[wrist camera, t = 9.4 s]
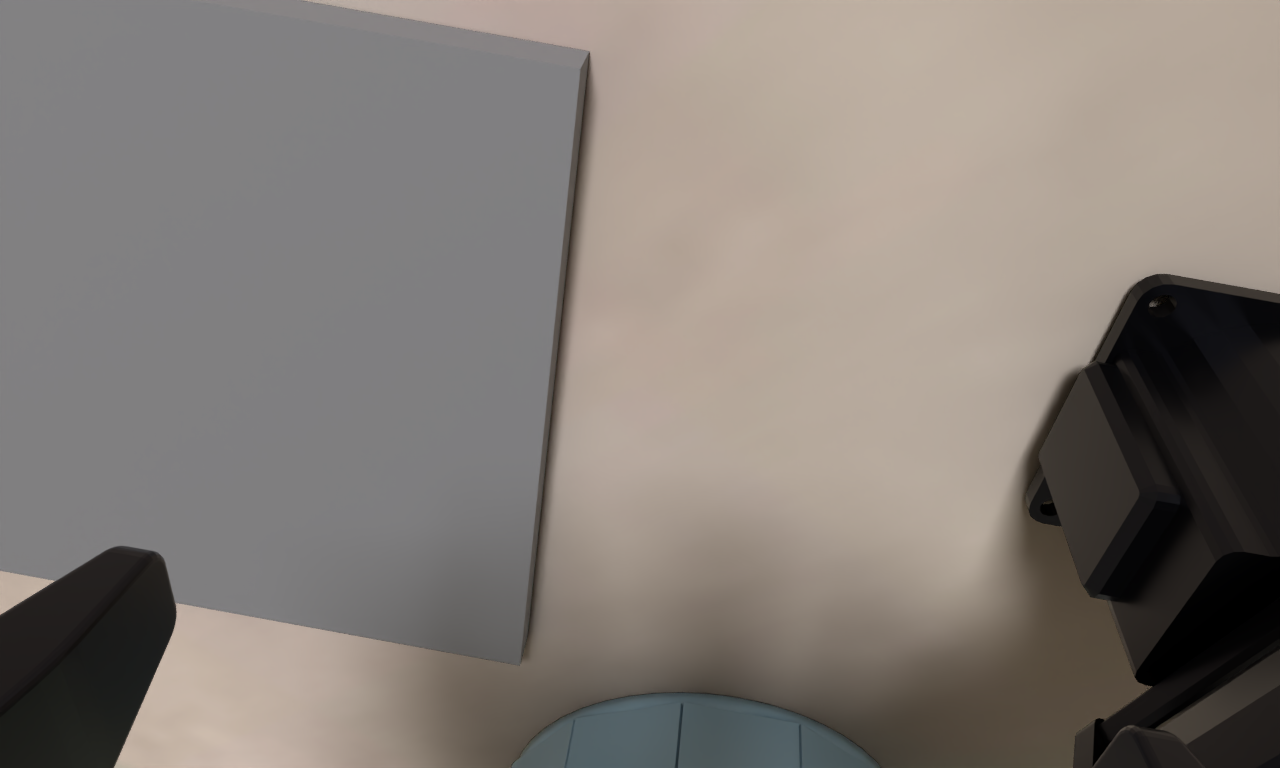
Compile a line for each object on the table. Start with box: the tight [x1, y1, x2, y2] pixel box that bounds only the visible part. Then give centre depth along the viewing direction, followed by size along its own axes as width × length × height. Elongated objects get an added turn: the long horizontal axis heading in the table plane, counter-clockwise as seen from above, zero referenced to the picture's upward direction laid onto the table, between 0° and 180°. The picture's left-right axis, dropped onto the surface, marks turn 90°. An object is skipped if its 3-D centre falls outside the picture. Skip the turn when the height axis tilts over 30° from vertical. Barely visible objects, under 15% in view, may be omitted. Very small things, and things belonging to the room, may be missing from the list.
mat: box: [0, 0, 589, 666], centre depth 22 cm, size 17×17×1 cm
